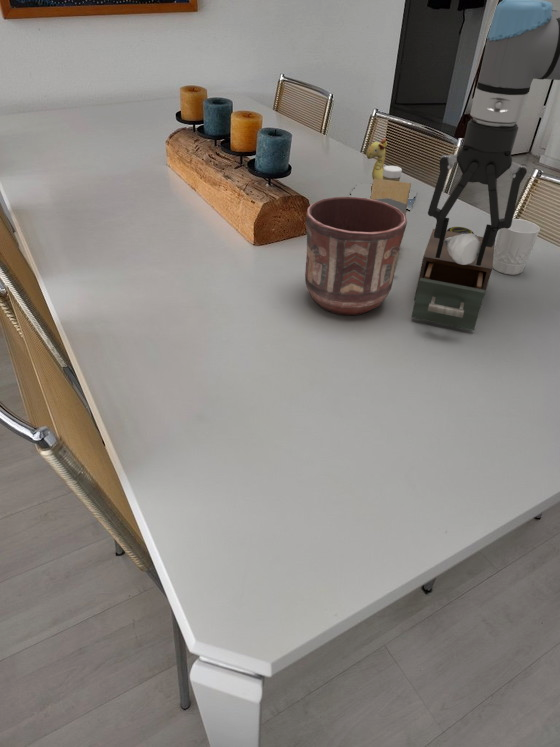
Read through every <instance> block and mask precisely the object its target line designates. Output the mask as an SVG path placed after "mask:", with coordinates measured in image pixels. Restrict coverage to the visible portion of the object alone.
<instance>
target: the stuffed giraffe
mask: <svg viewBox="0 0 560 747" xmlns="http://www.w3.org/2000/svg"><path fill="white" fill-rule="evenodd" d="M387 145H388V141H387V138H386V137H383V139H381V141H375V142H373V143H371V144H370V145H369V147H368V148H367V150H366V158H367V159H368V160H371V159H374V158H376V157H377V159H376V161H375V163H374V165H373V169H372V172H371V177H372V181H373V180H374V179H383V168H384V166H385V165H384V164H385V161H386V155H387V154H386V153H387V152H386V150H387V149H386V148H387ZM371 184H372V185H373V183H371ZM371 190H372V186H371ZM415 199H416V197H415V198H413V199H408V204H407V207H408V208H411V209H412V208H413V205H414V202H415ZM410 201H411V202H410Z"/></svg>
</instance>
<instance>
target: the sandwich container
mask: <svg viewBox="0 0 560 747" xmlns="http://www.w3.org/2000/svg"><path fill="white" fill-rule="evenodd" d="M372 184H373V185H372V190H371V196H370V199H373V200H377V201H381V202H384V203H387V204H389V205H391V206H393V207H396V208H398V209H399V210H400V211H401V212H402V213H403V214H404V215H407V210H406V209H407V204H408V198H409V193H410V190H411V187H412V183H411V182H406V181H400V180H399V181H392V180H383V179H374V180H373V179H372ZM400 249H401V247H400V248H399V250H400ZM399 253H400V251H399V252H398V256H397V260H396V266H395V269H396V267H397V264H398V260H399V259H398V258H399Z"/></svg>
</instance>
